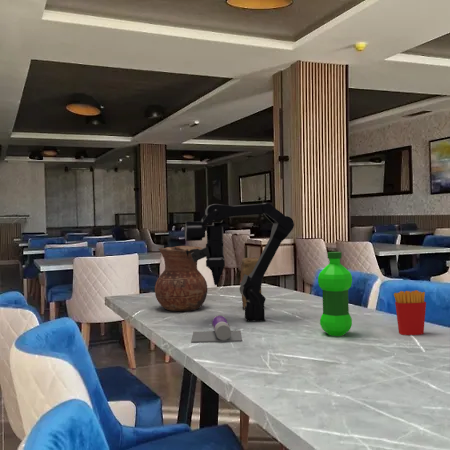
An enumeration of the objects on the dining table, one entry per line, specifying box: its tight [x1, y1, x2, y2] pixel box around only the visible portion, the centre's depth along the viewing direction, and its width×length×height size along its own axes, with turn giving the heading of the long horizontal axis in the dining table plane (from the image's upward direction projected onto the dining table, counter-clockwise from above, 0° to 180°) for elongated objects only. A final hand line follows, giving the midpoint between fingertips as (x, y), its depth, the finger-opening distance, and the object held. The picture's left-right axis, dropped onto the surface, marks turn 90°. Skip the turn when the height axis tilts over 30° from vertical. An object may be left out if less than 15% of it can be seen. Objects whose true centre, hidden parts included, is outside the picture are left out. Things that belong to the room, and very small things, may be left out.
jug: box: [154, 245, 209, 312], centre depth 212 cm, size 22×21×25 cm
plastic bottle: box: [317, 251, 353, 337], centre depth 160 cm, size 10×10×25 cm
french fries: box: [393, 289, 427, 336], centre depth 159 cm, size 9×4×13 cm, turn 92°
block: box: [240, 256, 262, 310], centre depth 209 cm, size 11×8×20 cm
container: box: [211, 315, 232, 340], centre depth 161 cm, size 5×5×15 cm
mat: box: [190, 329, 243, 344], centre depth 161 cm, size 15×13×1 cm
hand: (216, 284), depth 183 cm, fingers closed
